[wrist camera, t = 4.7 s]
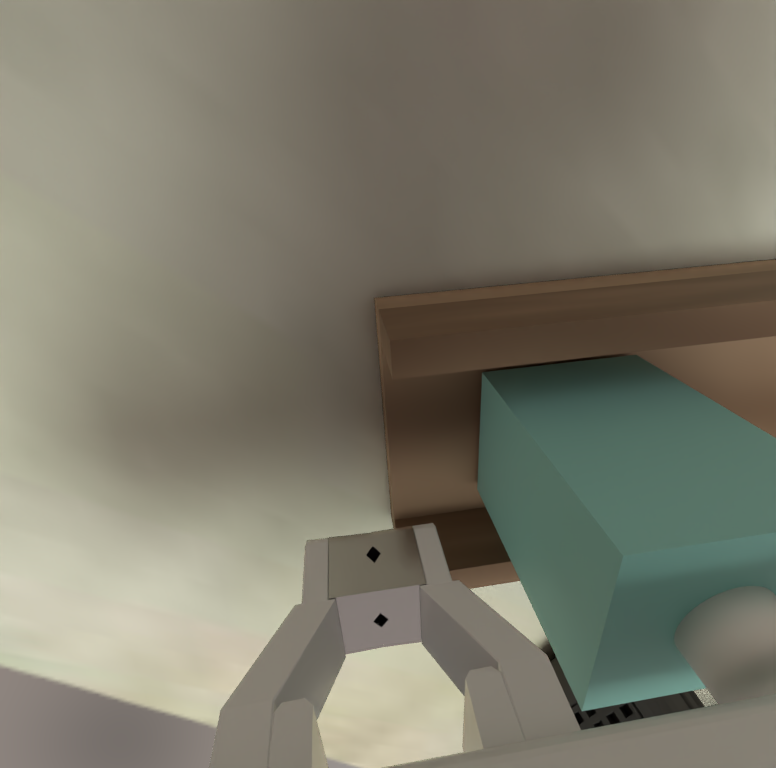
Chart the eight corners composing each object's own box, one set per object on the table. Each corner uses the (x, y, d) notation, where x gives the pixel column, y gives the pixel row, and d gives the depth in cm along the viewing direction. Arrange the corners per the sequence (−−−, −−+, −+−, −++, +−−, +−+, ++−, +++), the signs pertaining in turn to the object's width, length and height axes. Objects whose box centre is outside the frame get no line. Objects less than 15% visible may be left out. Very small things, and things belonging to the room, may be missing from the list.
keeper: (482, 372, 13) (667, 613, 6) (636, 354, 13) (980, 560, 6) (477, 489, 15) (610, 771, 8) (610, 470, 16) (849, 723, 8)
